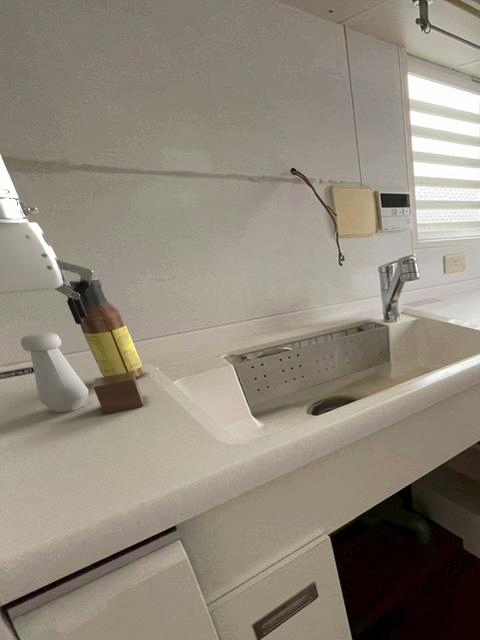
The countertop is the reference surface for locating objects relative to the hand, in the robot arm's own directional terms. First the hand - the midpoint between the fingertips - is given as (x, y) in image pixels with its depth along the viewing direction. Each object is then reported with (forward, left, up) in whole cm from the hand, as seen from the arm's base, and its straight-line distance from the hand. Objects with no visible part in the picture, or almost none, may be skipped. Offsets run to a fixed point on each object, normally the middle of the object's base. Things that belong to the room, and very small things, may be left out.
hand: (38, 328), depth 64 cm
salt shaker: (0, 0, -14) cm, 14 cm away
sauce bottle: (-8, +11, -14) cm, 20 cm away
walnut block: (+7, +4, -14) cm, 16 cm away
